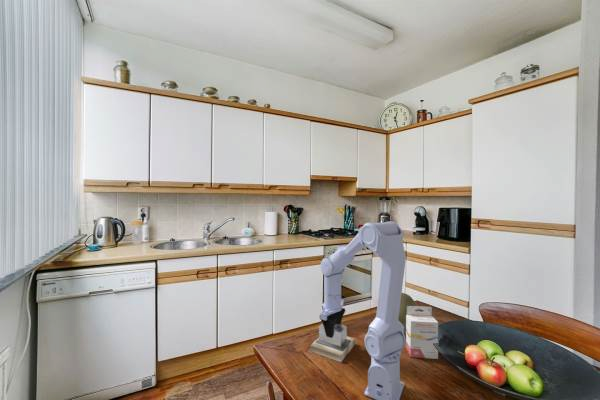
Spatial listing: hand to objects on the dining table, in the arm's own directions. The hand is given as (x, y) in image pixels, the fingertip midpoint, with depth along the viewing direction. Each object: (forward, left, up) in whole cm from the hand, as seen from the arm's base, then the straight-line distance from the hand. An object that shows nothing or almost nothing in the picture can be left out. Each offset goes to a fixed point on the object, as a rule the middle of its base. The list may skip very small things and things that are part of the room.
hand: (333, 333), depth 87 cm
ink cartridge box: (+12, -26, -5) cm, 29 cm away
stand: (0, 0, -5) cm, 5 cm away
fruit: (+23, -18, -5) cm, 30 cm away
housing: (0, 0, -3) cm, 3 cm away
